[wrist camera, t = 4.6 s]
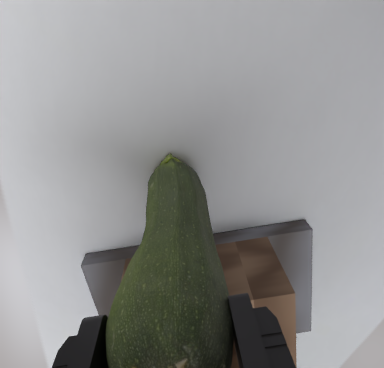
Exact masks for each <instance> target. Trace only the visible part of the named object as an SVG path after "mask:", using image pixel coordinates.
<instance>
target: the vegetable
mask: <svg viewBox="0 0 384 368" xmlns="http://www.w3.org/2000/svg"><path fill="white" fill-rule="evenodd" d="M227 296H229V292H228V288H227V285H226V281H225V277H224V272H223V268H222V265H221V261H220V258H219V256H218V253H217V249H216V246H215V241H214V236H213V232H212V228H211V223H210V218H209V212H208V206H207V200H206V195H205V191H204V188H203V186H202V184H201V182H200V179H199V177H198V175H197V173H196V172H195V171H194V170H193V169H192V168H190V167H189V166H187V165H186V164H184V163H183V162H181V161H180V160H178V159H177V158H176V157H172V154H169V155H167V156H166V158H165V160H164V161H162V162H161V164H160V166H158V167H157V168H156V169H155V171H154V173H153V174H152V176H151V177H150V179H149V182H148V197H147V206H146V227H145V231H144V235H143V239H142V242H141V244H140V246H139V247H138V249H137V251H136V252H135V254H134V255H133V257H132V259H131V261H130V263H129V264H128V267H127V269H126V272H125V274H124V277H123V279H122V281H121V283H120V286H119V288H118V290H117V292H116V295H115V298H114V300H113V303H112V306H111V309H110V313H109V316H108V319H107V323H106V334H105V336H106V355H107V362H108V367H109V368H231V364H232V356H233V343H234V330H233V323H232V318H231V313H230V308H229V303H228V298H227Z"/></svg>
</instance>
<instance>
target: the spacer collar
mask: <svg viewBox="0 0 384 368" xmlns="http://www.w3.org/2000/svg"><path fill="white" fill-rule="evenodd" d="M213 236H214V241H215V246H216V249H217V253H218V256H219V258H220V261H221V265H222V268H223V272H224V277H225V281H226V285H227V288H228V292H229V296H230V295H237V294H243V293H248V294H249V297H250V301H251V304H252V307H253V308H259V307H265V306H266V307H267V308H268V309H269V310H270V311H271V312H272V313H273V314H274V315H275V316H276V317H277V319H278V322H279V324H280V327H281V330H282V333H283V335H284V338H285V340H286V343H287V346H288V348H289V351H290V353H291V356H292V358H293V361H294V364H295V366H296V333H302V332H308V331H311V297H312V228H311V227H310V226H309V224H308V223H307V222H306V220H299V221H292V222H286V223H280V224H273V225H267V226H261V227H254V228H248V229H241V230H235V231H229V232H222V233H216V234H213ZM138 247H139V246H134V247H127V248H121V249H115V250H108V251H102V252H96V253H89V254H86V255H85V257H84V260H83V262H82V264H81V268H82V270H83V273H84V276H85V278H86V281H87V284H88V287H89V289H90V292H91V295H92V298H93V300H94V303H95V306H96V308H97V311H98V314H99V316H100V315H107V317H108V316H109V313H110V309H111V306H112V303H113V300H114V298H115V295H116V292H117V290H118V288H119V286H120V283H121V281H122V279H123V277H124V274H125V272H126V269H127V267H128V264H129V263H130V261H131V259H132V257H133V255H134V254H135V252H136V251H137V249H138ZM231 368H239V365H238V360H237V355H236V350H235V345H234V343H233V356H232V364H231Z"/></svg>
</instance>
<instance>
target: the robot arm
mask: <svg viewBox="0 0 384 368" xmlns="http://www.w3.org/2000/svg"><path fill="white" fill-rule="evenodd" d="M227 298H228V303H229V308H230V313H231V318H232V323H233V330H234V345H235V350H236V355H237V360H238V365H239V368H296V366H295V364H294V361H293V358H292V356H291V353H290V351H289V348H288V346H287V343H286V340H285V338H284V335H283V333H282V330H281V327H280V324H279V322H278V319H277V317H276V316H275V315H274V314H273V313H272V312H271V311H270V310H269V309H268V308H267V307H266V306H265V307H259V308H253V307H252V304H251V301H250V297H249V294H248V293H243V294H237V295H230V296H227ZM107 319H108V317H107V315H100V316H94V317H87V318H84V319H83V320H82V322H81V325H80V328H79V331H78V334H77V336H70V337H68V339H67V340H66V341H65V343H64V344H63V345H62V346H61V348H60V349H59V350H58V352H57V355H56V358H55V360H54V363H53V366H52V368H109V367H108V362H107V355H106V336H105V334H106V323H107Z"/></svg>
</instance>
